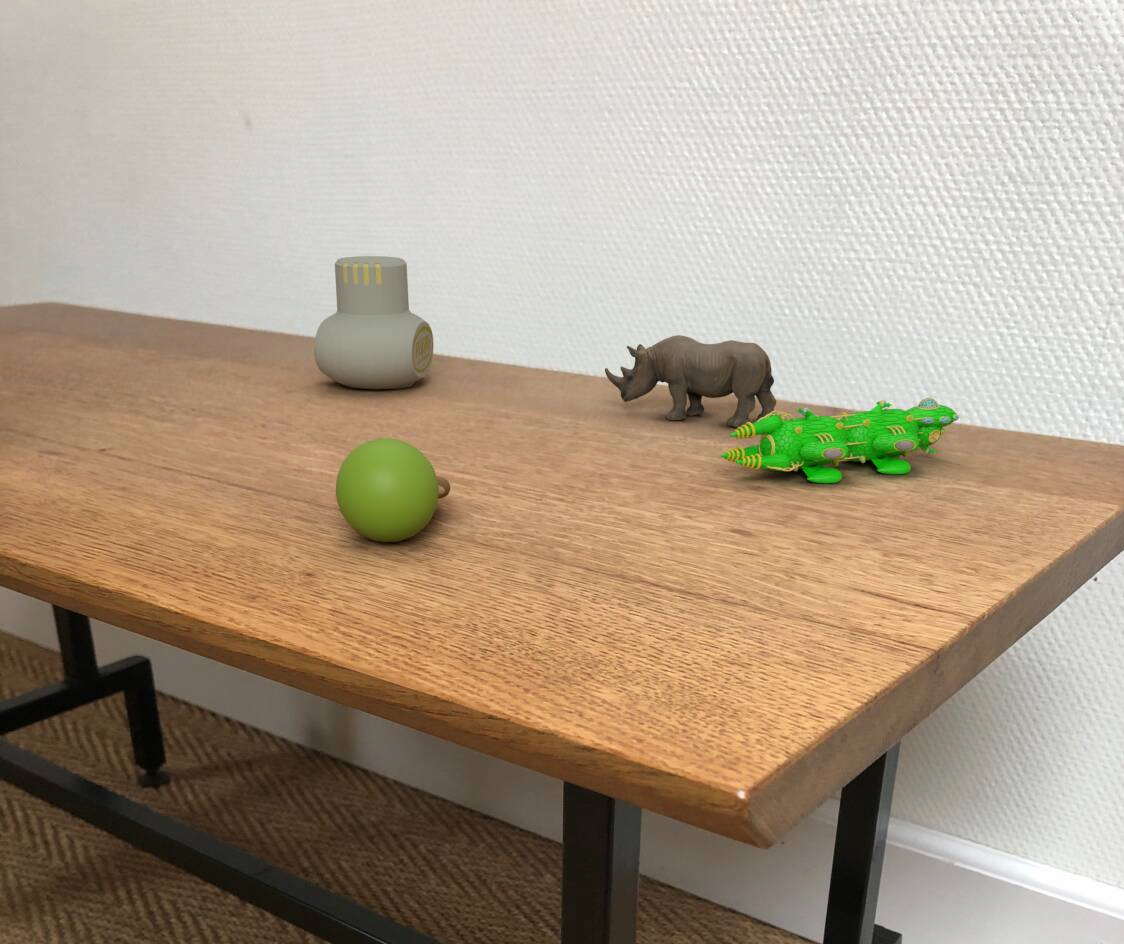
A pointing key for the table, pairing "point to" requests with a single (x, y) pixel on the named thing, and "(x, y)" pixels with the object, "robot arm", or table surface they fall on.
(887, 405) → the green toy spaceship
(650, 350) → the rhino figurine
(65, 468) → the table surface
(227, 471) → the table surface
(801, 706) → the table surface
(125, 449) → the table surface
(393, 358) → the air freshener
